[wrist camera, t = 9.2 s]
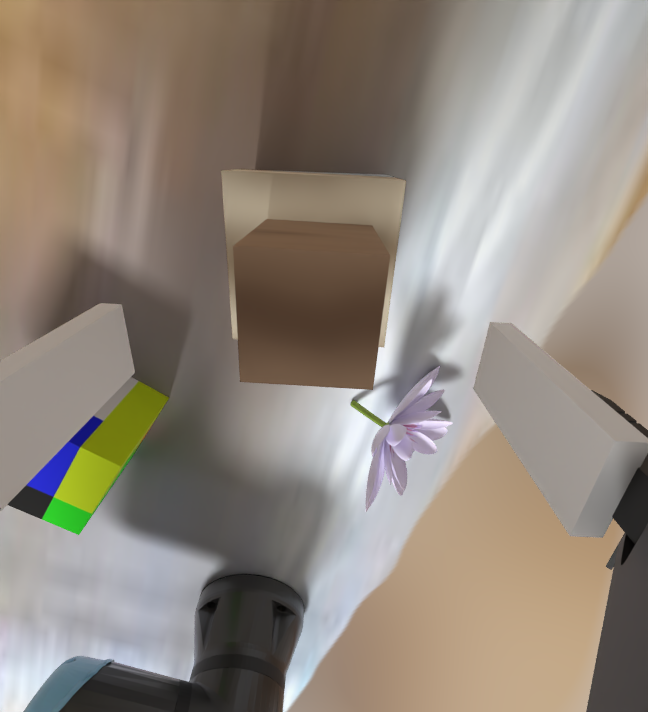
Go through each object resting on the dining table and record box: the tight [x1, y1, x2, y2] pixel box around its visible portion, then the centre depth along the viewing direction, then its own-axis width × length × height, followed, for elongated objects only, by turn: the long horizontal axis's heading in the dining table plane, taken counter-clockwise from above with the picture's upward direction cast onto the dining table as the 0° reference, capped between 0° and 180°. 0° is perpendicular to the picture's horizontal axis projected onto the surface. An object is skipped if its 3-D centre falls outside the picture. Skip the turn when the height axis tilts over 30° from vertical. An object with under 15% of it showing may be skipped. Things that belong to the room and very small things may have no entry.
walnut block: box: [233, 219, 390, 390], centre depth 19 cm, size 6×6×8 cm
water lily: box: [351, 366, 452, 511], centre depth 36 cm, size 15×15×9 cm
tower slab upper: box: [221, 169, 406, 347], centre depth 25 cm, size 10×10×5 cm
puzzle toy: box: [7, 377, 169, 535], centre depth 35 cm, size 10×10×10 cm
